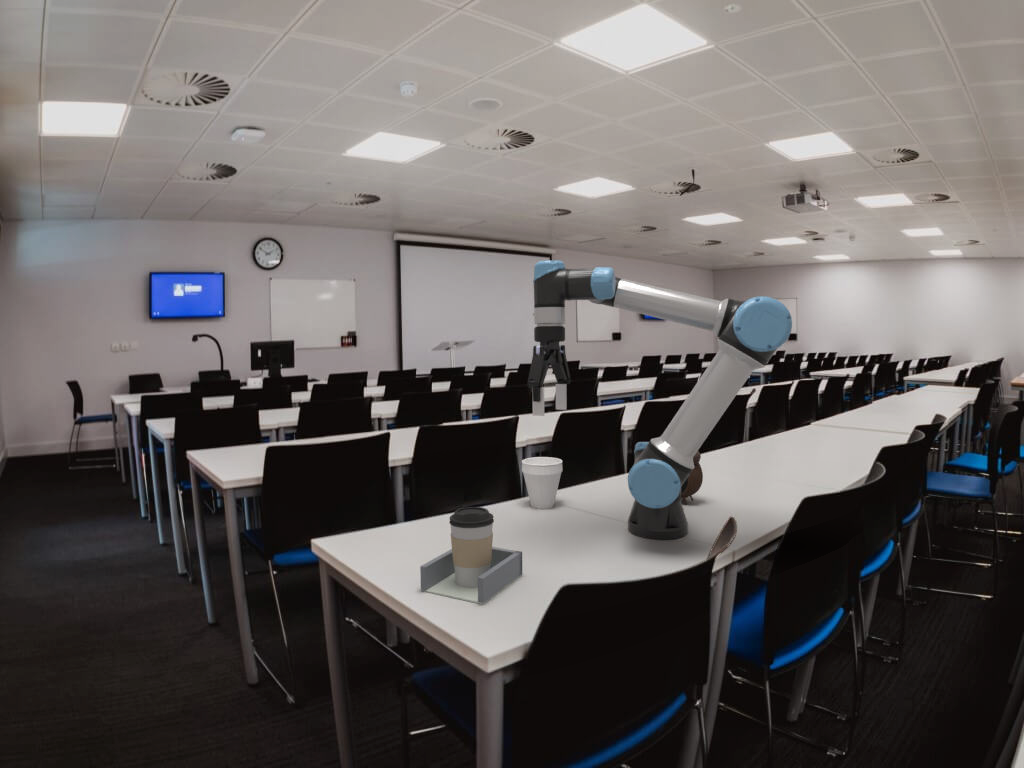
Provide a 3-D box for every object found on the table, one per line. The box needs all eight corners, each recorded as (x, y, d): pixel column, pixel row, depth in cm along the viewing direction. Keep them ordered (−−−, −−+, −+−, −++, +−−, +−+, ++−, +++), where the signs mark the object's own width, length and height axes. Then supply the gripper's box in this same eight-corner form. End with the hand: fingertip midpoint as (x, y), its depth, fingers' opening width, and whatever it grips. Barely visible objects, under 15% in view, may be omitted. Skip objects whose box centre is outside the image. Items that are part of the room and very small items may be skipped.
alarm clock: (650, 499, 189) (650, 435, 187) (663, 495, 193) (663, 432, 192) (691, 508, 178) (692, 440, 176) (704, 503, 183) (705, 437, 181)
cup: (546, 498, 191) (546, 455, 190) (571, 506, 181) (571, 461, 180) (514, 504, 184) (513, 459, 183) (537, 513, 174) (537, 466, 173)
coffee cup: (450, 573, 129) (449, 504, 128) (493, 571, 129) (492, 502, 128) (450, 591, 120) (448, 516, 119) (496, 589, 120) (494, 514, 119)
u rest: (522, 575, 128) (522, 551, 128) (483, 604, 114) (483, 578, 114) (464, 564, 135) (464, 542, 135) (420, 590, 121) (420, 566, 120)
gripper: (556, 326, 161) (556, 406, 162) (512, 325, 139) (513, 417, 140) (582, 326, 157) (583, 407, 159) (541, 324, 135) (542, 418, 137)
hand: (550, 412), depth 150 cm, fingers open, 13 cm apart
